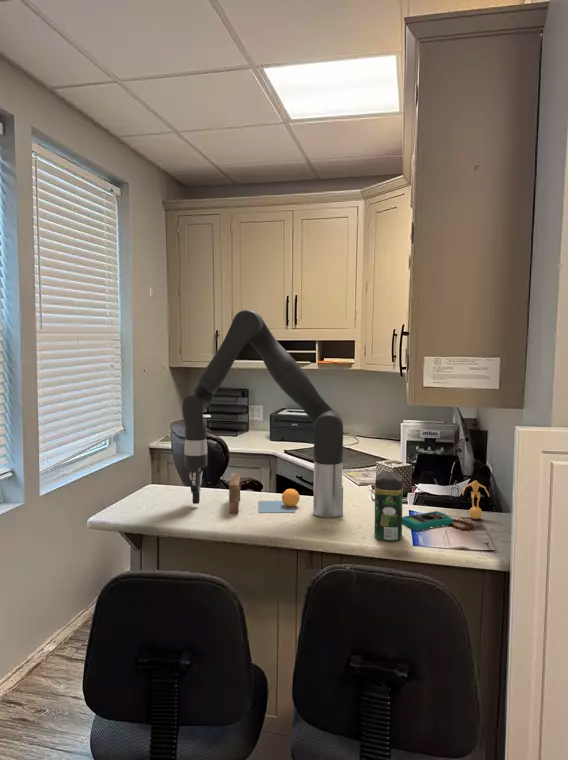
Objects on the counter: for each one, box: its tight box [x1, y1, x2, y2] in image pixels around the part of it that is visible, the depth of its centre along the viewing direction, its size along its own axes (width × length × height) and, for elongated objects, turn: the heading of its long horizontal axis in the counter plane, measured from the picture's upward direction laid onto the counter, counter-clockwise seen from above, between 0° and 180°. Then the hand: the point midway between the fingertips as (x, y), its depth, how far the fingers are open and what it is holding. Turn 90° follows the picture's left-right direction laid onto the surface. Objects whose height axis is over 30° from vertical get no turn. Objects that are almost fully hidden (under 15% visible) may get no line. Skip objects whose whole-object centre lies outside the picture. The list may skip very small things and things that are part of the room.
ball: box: [281, 488, 301, 507], centre depth 176 cm, size 6×6×6 cm
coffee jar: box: [374, 470, 404, 543], centre depth 149 cm, size 10×8×19 cm
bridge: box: [228, 472, 241, 515], centre depth 174 cm, size 3×15×10 cm, turn 2°
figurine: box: [461, 480, 490, 520], centre depth 166 cm, size 8×6×12 cm
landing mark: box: [258, 500, 296, 514], centre depth 175 cm, size 12×12×1 cm
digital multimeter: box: [402, 510, 453, 531], centre depth 160 cm, size 7×15×3 cm, turn 115°
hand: (196, 503), depth 174 cm, fingers closed
